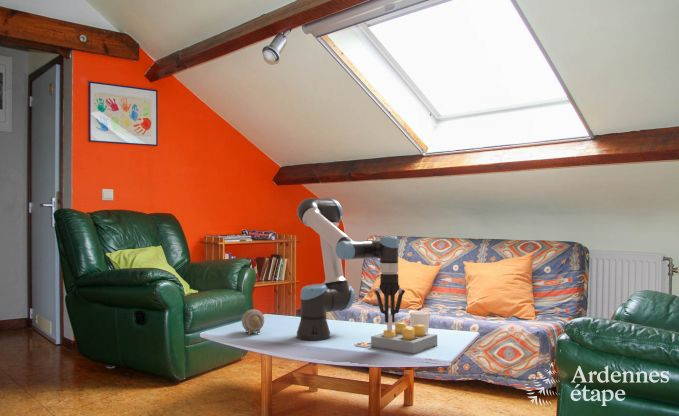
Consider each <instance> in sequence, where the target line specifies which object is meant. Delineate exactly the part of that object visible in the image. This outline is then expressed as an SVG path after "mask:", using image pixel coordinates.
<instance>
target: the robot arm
mask: <svg viewBox="0 0 679 416" xmlns="http://www.w3.org/2000/svg"><path fill="white" fill-rule="evenodd" d="M343 212H344V211H343V208H342V206H341V204H340V203H339V201H337V200H336V199H332V198H328V197H327V198H319V197H317V198H316V197H315V198H314V197H308V198H305V199H303V200H302V201H300V202H299V205H298V206H297V209H296V215H297V217H298V219H299V221H300V222H301V223H302V224H303V225H304V226H306V227H310V228H311V229H312V230H313V231H315V233H317V234H318V235H319V239H320V248H321V254H322V260H323V261H322V262H323V269H324V277H325V280H324V281H323V282H322V283H312V284H308V285H305V286H303V287H302V288H301V289H300V295H299V297H300V321H299V323H298V327H297V331H296V338H297V339H299V338H300V339H299V340H303V339H304V341H320V340H321V341H323V340H327V339H330V338H331V330H330V328H329V324H328V321H327V313H331V312H332V313H333V312H341V311H342V312H343V311H346V310H348V309H350V308H351V307H352V306H353V303H354V302H355V291H354V288H353V286H352V285H350V284H349V283H348V282H349V281H348V279H347V278H345V276H344V271H343V265H342V264H343V263H342V260H346V261H348V260H357V259H360V260H361V259H362V260H363V259H379V260H380V263H379V264H380V265H379V268H380V269H379V270H380V276H379V277H380V278H379V279H380V283H379V286H378V288H377V289H374V290H373V293H374V294H375V296H376V298H377V303H378V307H379V313H381V314H384V322H385V323H386V326H387V327H386V330H388V331H392V330H393V323H395V315H396V314H399V313H400V309H401V304H402V300H403V296H404V294H405V293H406V290H405V289H402V288H401V287H400V284H399V274H398V272H399V239H398V237H397V236H395V235H394V236H392V235H390V236H389V235H388V236H380V237H379V240H353V238H351V237H349V236H348V235H347V234H346V233H344V232H343V231H342V230H340V229H339V226H340V221H341V220H342V219H343V215H344V213H343ZM381 293H382V294H383V298H384V300H383V301H382V297H381ZM397 293H398V295H397V299H396V298H395V297H396V294H397ZM389 299H390V305H389ZM395 299H396V300H395ZM395 301H396V303H395ZM383 302H384V304H383ZM383 305H384V306H383ZM389 307H390V309H389ZM389 310H390V312H389Z"/></svg>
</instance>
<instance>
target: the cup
mask: <svg viewBox="0 0 679 416" xmlns="http://www.w3.org/2000/svg"><path fill="white" fill-rule="evenodd" d="M408 313H409V316H410V317H409V318H410V322H411V328H413V325H425V333H428V334H429V326H430V322H431V315H432V312H430V311H429V310H428V311H427V310H413V311H409V312H408Z"/></svg>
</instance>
